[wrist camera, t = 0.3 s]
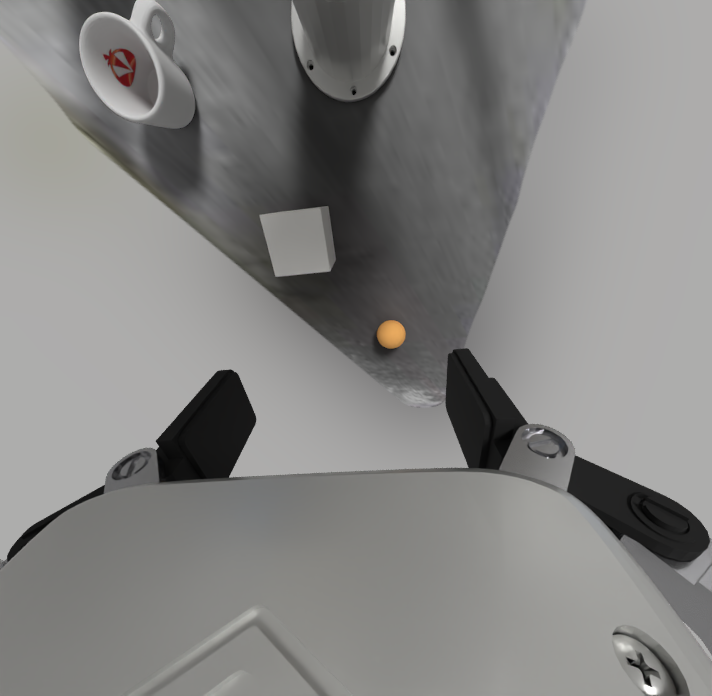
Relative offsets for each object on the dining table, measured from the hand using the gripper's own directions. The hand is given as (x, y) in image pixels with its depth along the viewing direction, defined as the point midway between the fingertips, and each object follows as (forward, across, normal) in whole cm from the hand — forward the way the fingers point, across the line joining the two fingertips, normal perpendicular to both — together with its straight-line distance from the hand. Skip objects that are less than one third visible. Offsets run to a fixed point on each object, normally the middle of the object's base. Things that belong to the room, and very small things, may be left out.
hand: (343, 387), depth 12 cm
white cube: (+34, +8, -3) cm, 35 cm away
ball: (+32, -4, +14) cm, 35 cm away
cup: (+34, +20, -23) cm, 46 cm away
